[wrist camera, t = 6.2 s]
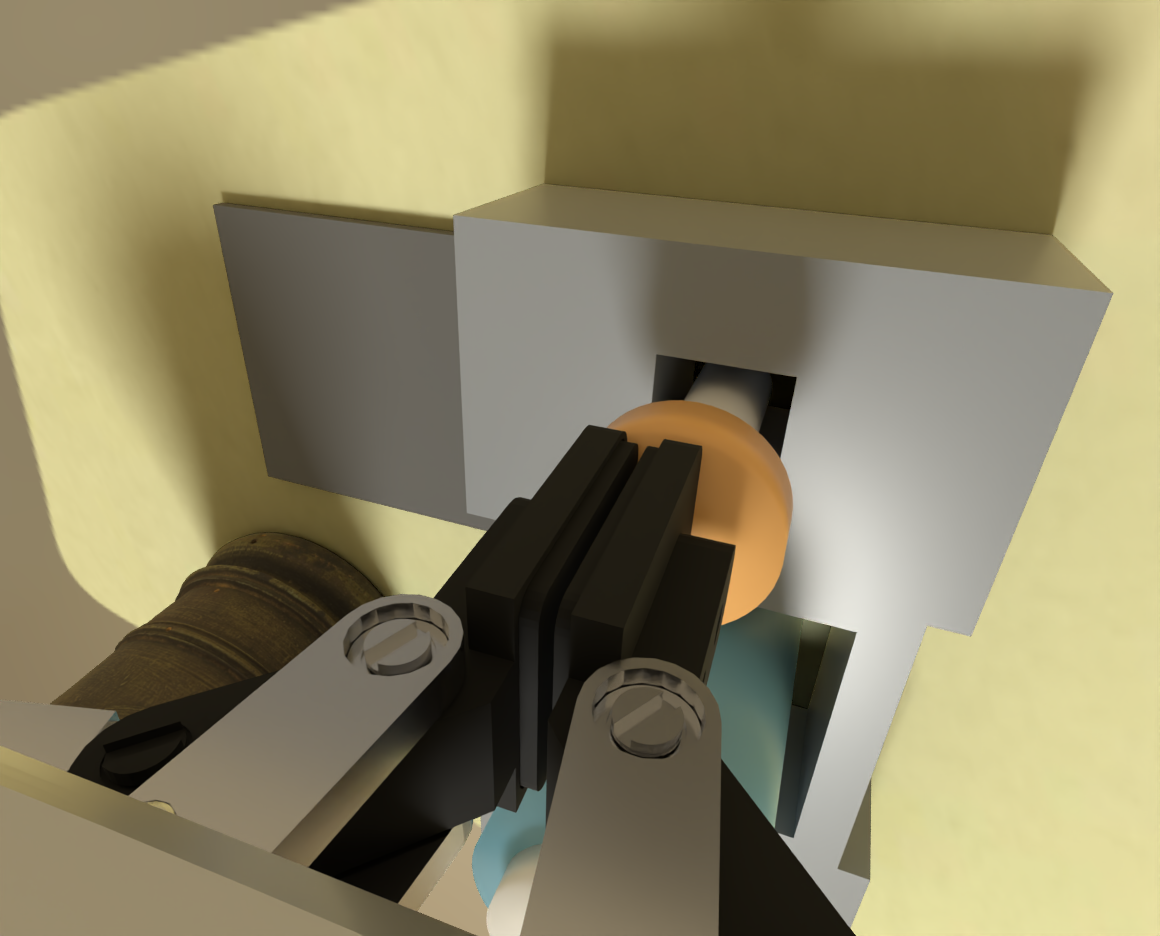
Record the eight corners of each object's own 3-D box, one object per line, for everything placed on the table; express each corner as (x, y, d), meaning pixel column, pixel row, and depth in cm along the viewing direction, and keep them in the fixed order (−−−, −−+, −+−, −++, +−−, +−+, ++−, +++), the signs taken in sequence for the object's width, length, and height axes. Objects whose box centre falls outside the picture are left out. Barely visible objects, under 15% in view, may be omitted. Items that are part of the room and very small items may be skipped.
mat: (506, 238, 18) (499, 241, 18) (509, 528, 23) (503, 535, 23) (223, 202, 21) (212, 204, 21) (276, 471, 25) (268, 476, 25)
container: (200, 507, 28) (-568, 1007, 13) (403, 558, 25) (-268, 1252, 10) (249, 676, 32) (-284, 1193, 17) (425, 734, 30) (-25, 1398, 15)
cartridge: (822, 537, 19) (775, 939, 10) (785, 682, 22) (723, 1100, 13) (629, 495, 21) (443, 814, 12) (617, 635, 23) (458, 981, 15)
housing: (1052, 235, 14) (1113, 293, 11) (824, 873, 25) (815, 1012, 22) (543, 183, 17) (452, 214, 14) (535, 773, 28) (483, 879, 25)
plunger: (832, 321, 14) (806, 460, 9) (799, 468, 16) (762, 652, 11) (666, 298, 15) (562, 413, 10) (652, 439, 17) (557, 597, 12)
